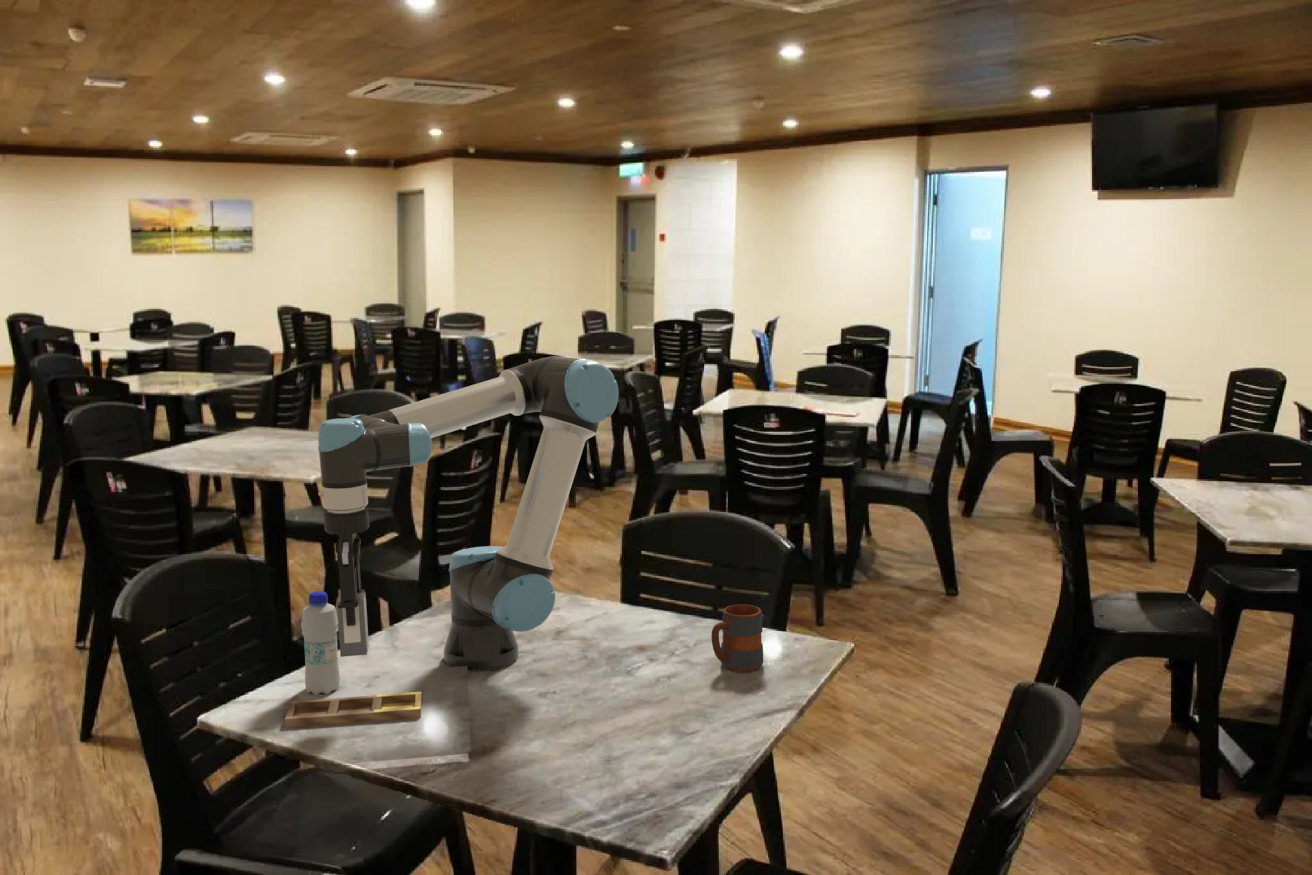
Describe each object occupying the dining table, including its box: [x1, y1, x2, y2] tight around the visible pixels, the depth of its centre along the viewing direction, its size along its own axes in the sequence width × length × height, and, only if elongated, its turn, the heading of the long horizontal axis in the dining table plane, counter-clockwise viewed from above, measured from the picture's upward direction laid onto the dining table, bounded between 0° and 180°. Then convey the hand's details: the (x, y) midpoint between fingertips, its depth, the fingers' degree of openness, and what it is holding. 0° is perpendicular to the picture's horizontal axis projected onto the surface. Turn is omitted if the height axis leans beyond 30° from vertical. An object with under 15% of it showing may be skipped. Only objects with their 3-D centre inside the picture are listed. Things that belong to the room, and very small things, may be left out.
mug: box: [711, 604, 764, 673], centre depth 221 cm, size 9×12×12 cm
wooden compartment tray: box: [284, 691, 423, 728], centre depth 198 cm, size 23×8×3 cm, turn 101°
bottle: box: [300, 590, 341, 696], centre depth 208 cm, size 7×7×20 cm
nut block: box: [336, 591, 370, 658], centre depth 195 cm, size 4×4×10 cm
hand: (354, 636), depth 196 cm, fingers closed on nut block, 4 cm apart
